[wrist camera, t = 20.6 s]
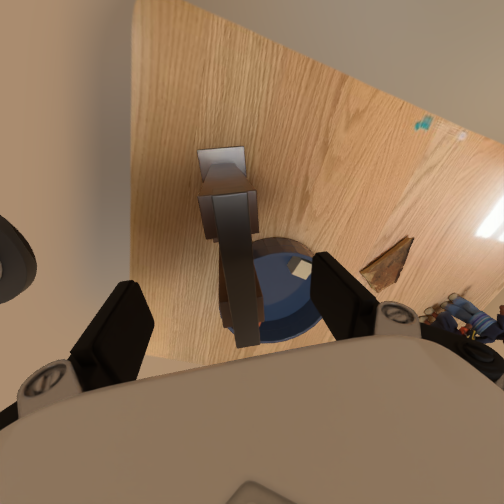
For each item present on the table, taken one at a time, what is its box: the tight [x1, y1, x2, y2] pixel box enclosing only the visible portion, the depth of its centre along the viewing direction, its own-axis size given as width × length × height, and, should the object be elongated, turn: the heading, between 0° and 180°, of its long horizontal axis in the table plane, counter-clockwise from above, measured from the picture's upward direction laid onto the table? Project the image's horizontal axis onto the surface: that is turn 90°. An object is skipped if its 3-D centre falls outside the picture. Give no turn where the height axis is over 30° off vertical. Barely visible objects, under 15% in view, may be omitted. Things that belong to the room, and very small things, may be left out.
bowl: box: [219, 238, 322, 343], centre depth 36 cm, size 19×19×6 cm
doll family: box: [419, 293, 504, 344], centre depth 45 cm, size 23×9×13 cm, turn 172°
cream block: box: [287, 256, 312, 280], centre depth 35 cm, size 3×3×3 cm
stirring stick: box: [211, 186, 260, 348], centre depth 12 cm, size 2×10×2 cm, turn 5°
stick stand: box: [197, 146, 265, 328], centre depth 21 cm, size 6×13×20 cm, turn 4°
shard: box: [360, 237, 414, 293], centre depth 40 cm, size 11×8×2 cm
